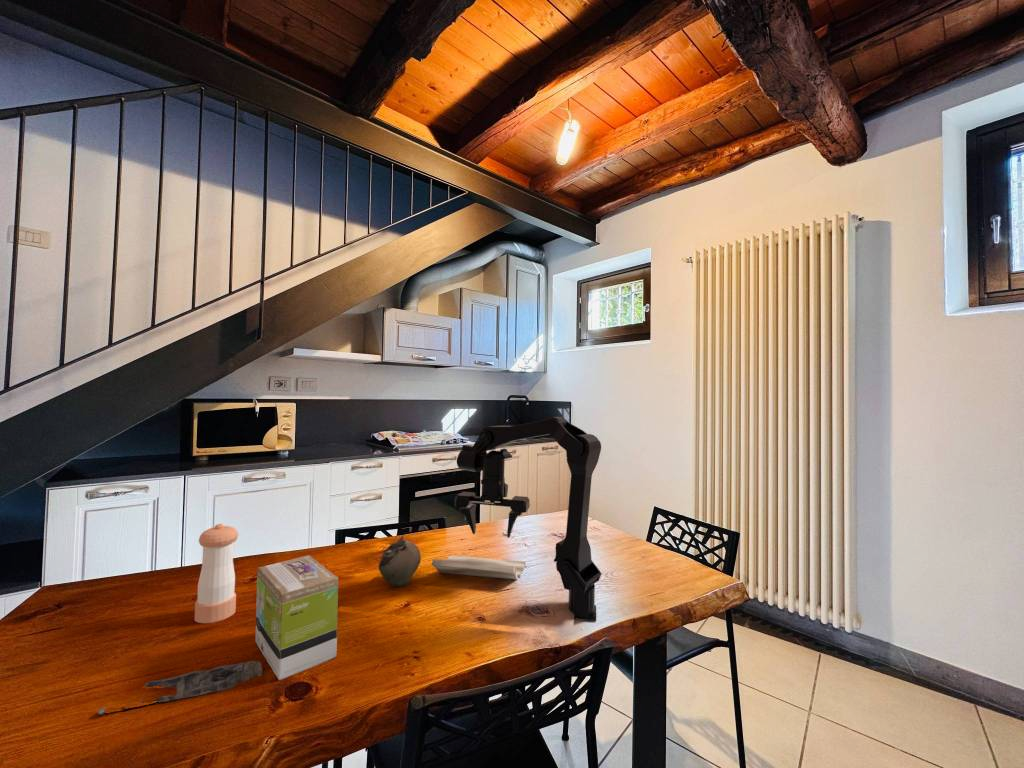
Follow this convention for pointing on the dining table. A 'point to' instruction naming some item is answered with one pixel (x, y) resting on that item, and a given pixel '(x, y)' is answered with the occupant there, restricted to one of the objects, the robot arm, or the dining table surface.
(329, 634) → the tea box
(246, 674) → the driftwood
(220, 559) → the pepper shaker
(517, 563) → the beige flat panel
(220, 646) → the dining table surface
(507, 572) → the board
